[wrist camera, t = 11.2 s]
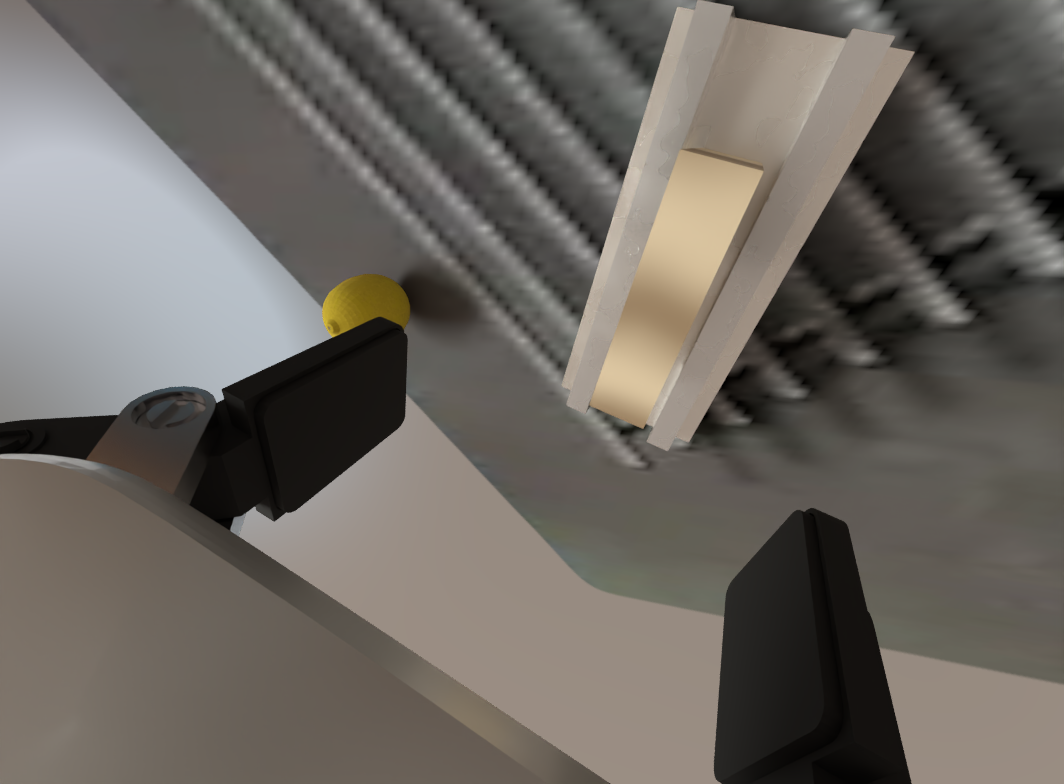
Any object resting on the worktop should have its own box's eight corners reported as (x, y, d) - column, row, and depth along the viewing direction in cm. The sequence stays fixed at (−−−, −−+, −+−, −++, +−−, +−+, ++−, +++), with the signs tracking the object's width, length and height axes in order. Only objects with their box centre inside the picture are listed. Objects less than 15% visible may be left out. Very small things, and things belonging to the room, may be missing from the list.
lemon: (434, 284, 34) (362, 315, 28) (422, 338, 38) (355, 377, 31) (381, 252, 35) (299, 275, 29) (373, 307, 38) (299, 339, 32)
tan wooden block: (702, 147, 22) (680, 149, 15) (762, 163, 21) (764, 171, 15) (626, 347, 28) (589, 405, 22) (668, 364, 28) (643, 428, 21)
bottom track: (681, 13, 20) (670, -6, 18) (906, 56, 18) (930, 42, 16) (566, 379, 33) (551, 398, 31) (690, 433, 31) (684, 458, 28)
